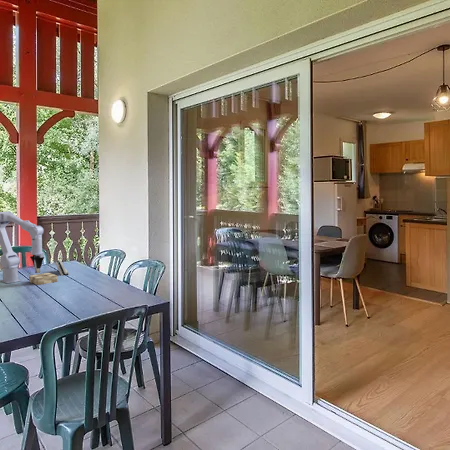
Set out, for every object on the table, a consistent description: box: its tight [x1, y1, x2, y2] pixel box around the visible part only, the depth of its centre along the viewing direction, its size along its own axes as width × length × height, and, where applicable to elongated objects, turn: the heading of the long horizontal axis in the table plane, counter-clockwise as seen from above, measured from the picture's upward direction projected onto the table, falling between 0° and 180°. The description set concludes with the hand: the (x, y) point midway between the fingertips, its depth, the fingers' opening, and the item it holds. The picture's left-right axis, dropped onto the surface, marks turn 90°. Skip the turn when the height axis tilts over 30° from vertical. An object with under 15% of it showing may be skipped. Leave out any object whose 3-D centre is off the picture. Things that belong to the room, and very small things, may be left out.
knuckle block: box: [28, 272, 58, 286], centre depth 236 cm, size 12×12×4 cm
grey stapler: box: [54, 259, 70, 276], centre depth 261 cm, size 17×5×10 cm, turn 29°
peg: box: [34, 256, 41, 274], centre depth 230 cm, size 3×3×10 cm
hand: (37, 267), depth 230 cm, fingers closed on peg, 3 cm apart
